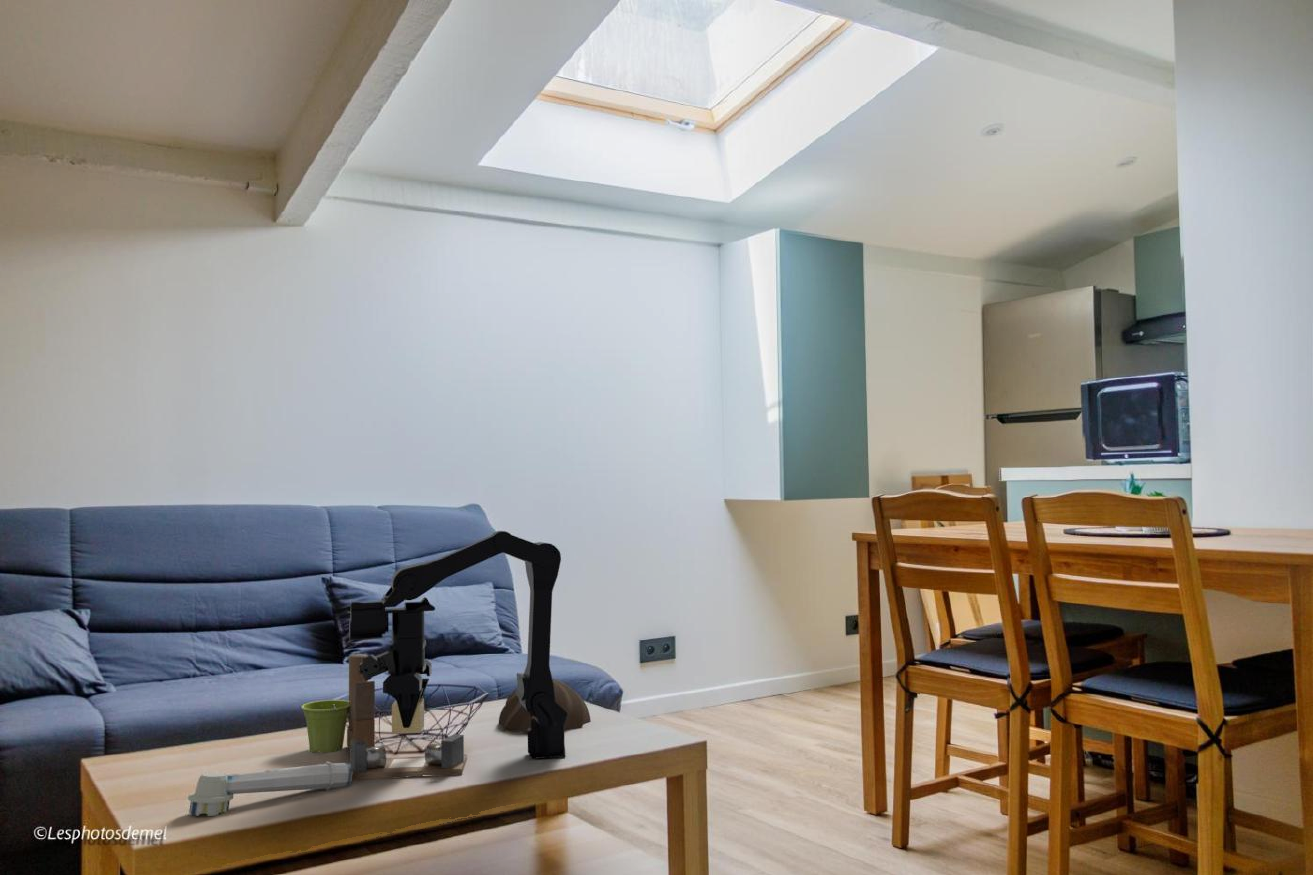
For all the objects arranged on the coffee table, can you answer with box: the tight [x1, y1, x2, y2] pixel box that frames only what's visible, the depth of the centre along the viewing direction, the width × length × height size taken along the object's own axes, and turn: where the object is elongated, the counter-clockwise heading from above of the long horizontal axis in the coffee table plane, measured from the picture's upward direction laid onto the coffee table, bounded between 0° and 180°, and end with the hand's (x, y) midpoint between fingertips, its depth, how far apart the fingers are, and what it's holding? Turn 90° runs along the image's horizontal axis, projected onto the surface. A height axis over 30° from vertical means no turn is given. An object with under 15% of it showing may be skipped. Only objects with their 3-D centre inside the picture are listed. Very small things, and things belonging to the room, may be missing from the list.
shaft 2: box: [424, 734, 465, 769], centre depth 172 cm, size 6×5×5 cm
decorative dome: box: [498, 678, 591, 735], centre depth 208 cm, size 19×20×10 cm
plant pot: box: [301, 699, 350, 754], centre depth 189 cm, size 9×9×9 cm
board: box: [351, 753, 468, 781], centre depth 173 cm, size 20×10×1 cm, turn 97°
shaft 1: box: [349, 739, 387, 774], centre depth 170 cm, size 6×5×5 cm
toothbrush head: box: [187, 761, 353, 817], centre depth 156 cm, size 5×7×25 cm
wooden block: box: [346, 653, 376, 750], centre depth 187 cm, size 4×11×18 cm, turn 26°
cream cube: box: [391, 698, 425, 735], centre depth 174 cm, size 5×5×5 cm
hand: (408, 724), depth 174 cm, fingers closed on cream cube, 5 cm apart
